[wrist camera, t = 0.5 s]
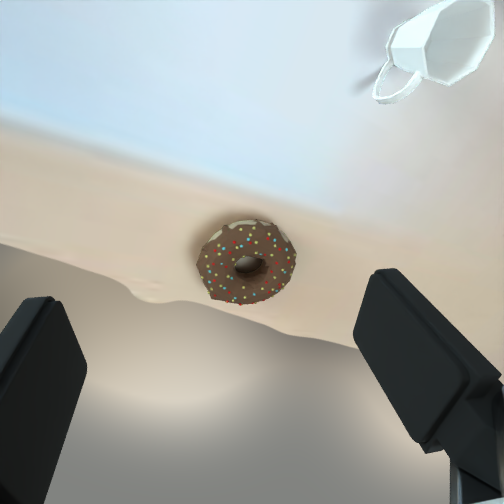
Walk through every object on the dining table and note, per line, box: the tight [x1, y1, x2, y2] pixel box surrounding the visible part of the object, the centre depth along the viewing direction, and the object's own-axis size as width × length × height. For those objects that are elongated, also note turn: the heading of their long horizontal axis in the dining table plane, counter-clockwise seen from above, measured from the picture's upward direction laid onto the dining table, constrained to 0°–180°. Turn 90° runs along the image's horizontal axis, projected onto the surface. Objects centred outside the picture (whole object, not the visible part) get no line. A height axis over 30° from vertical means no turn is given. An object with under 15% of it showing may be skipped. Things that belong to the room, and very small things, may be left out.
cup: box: [372, 0, 495, 104], centre depth 30 cm, size 7×10×8 cm
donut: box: [196, 219, 296, 306], centre depth 42 cm, size 14×14×5 cm
